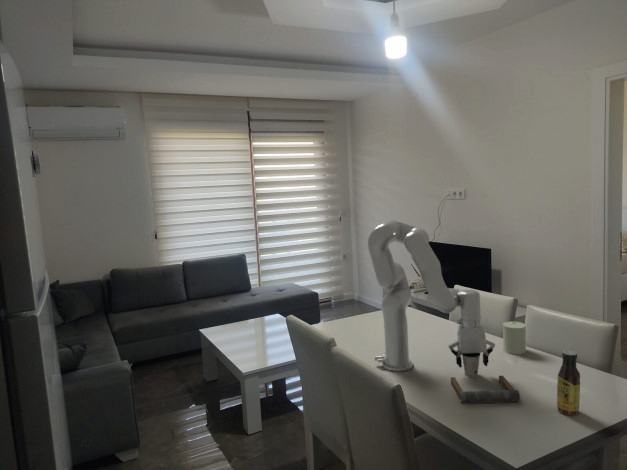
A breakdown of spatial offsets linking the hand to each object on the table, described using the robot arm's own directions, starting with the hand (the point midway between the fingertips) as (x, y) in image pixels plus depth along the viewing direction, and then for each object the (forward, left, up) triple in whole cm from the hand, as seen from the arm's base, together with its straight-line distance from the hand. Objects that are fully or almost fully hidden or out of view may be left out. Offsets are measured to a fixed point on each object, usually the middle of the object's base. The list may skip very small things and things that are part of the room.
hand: (472, 365), depth 170 cm
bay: (0, -15, -4) cm, 15 cm away
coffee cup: (0, 0, -4) cm, 4 cm away
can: (+25, +23, -4) cm, 34 cm away
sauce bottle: (+22, -29, -4) cm, 36 cm away
